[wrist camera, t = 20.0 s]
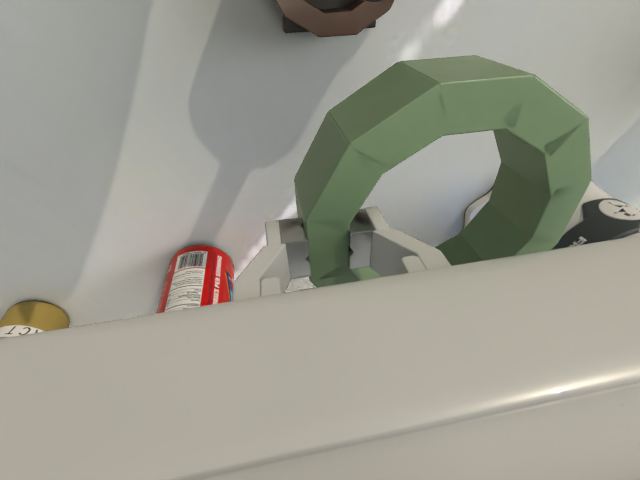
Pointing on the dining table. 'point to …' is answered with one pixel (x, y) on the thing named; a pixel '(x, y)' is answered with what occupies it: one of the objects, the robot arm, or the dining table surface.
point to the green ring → (427, 126)
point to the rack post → (321, 2)
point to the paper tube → (32, 319)
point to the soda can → (197, 279)
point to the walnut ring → (333, 16)
